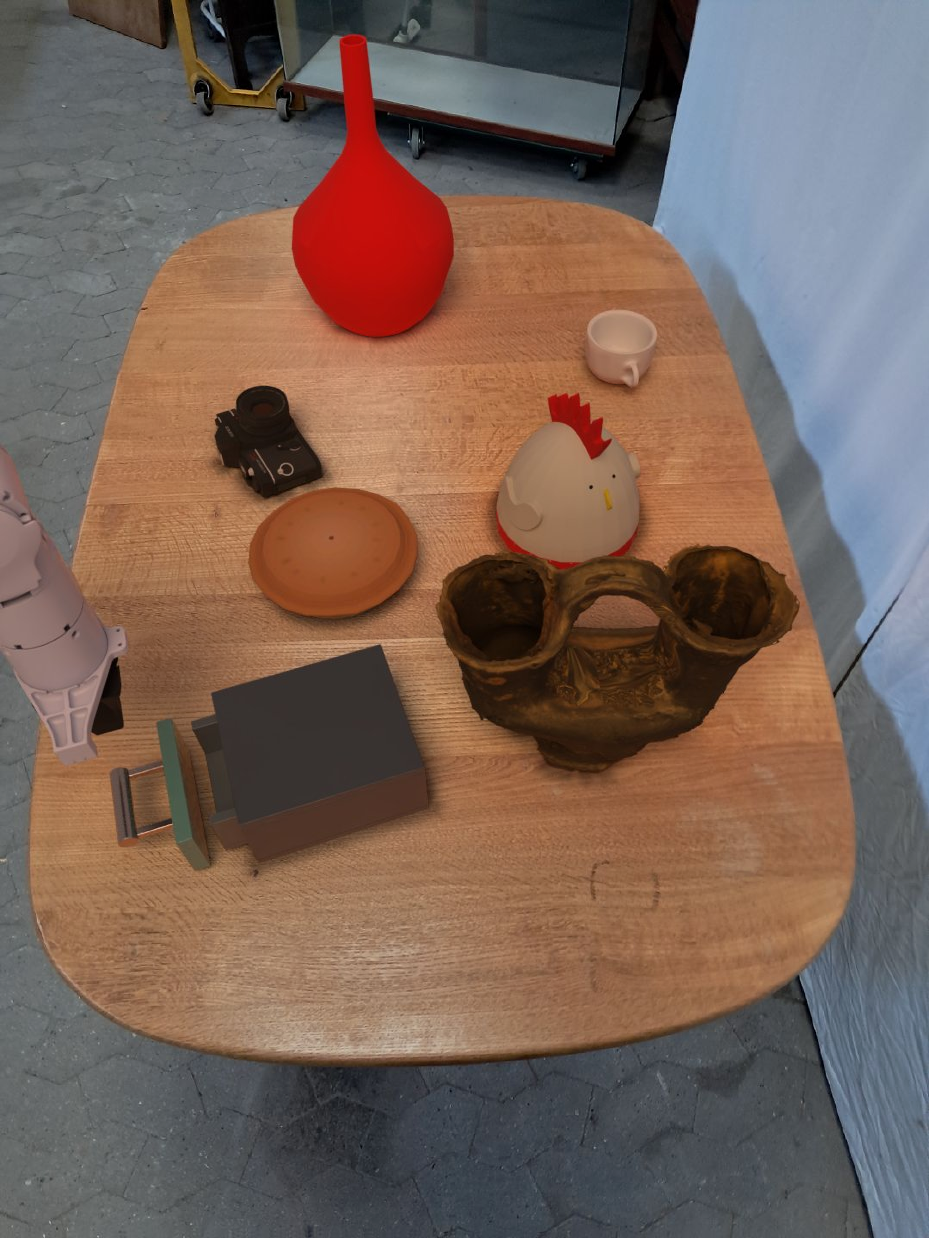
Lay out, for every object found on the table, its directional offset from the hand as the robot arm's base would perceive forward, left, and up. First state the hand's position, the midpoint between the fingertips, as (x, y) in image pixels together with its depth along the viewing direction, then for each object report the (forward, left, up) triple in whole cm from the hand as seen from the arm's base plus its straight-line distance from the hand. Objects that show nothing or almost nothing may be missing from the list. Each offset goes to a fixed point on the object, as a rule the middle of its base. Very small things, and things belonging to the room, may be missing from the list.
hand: (108, 724), depth 66 cm
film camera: (+17, +34, -10) cm, 39 cm away
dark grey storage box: (+14, -4, -9) cm, 17 cm away
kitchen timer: (+43, +15, -10) cm, 46 cm away
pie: (+20, +16, -10) cm, 27 cm away
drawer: (+7, -4, -9) cm, 12 cm away
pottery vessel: (+36, -7, -10) cm, 38 cm away
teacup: (+57, +33, -10) cm, 67 cm away
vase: (+35, +54, -10) cm, 65 cm away
